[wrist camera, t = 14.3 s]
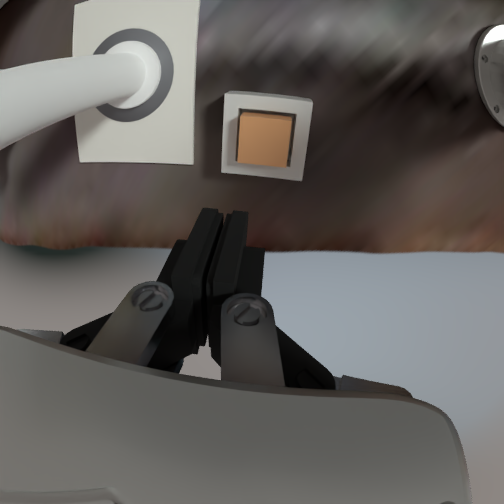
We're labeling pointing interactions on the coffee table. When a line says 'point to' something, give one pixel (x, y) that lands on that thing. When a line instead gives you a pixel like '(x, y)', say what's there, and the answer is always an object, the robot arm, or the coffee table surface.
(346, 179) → the coffee table surface
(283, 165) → the button
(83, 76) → the candle
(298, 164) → the button housing
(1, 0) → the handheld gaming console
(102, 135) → the paper sheet
